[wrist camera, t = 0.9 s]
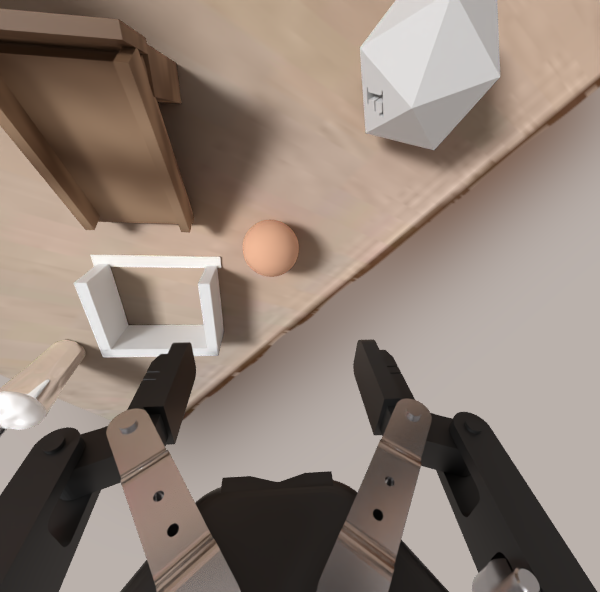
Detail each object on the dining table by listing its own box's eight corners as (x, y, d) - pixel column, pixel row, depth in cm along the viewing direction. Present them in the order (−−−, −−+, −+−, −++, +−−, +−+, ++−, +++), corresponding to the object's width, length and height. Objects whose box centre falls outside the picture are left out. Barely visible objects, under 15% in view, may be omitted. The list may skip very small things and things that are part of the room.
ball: (243, 212, 26) (238, 229, 22) (298, 214, 27) (302, 230, 22) (246, 262, 29) (241, 286, 25) (295, 263, 29) (299, 286, 25)
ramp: (48, 48, 20) (-92, 0, 12) (175, 58, 20) (118, 19, 13) (100, 221, 26) (28, 260, 18) (197, 223, 26) (166, 262, 19)
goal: (98, 263, 28) (73, 282, 24) (217, 264, 29) (209, 283, 25) (121, 332, 32) (103, 357, 28) (224, 331, 33) (218, 355, 30)
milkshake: (38, 357, 33) (-45, 439, 24) (56, 327, 31) (-27, 405, 22) (80, 374, 34) (16, 456, 26) (99, 347, 33) (37, 426, 24)
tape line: (90, 254, 27) (90, 255, 27) (220, 256, 28) (220, 257, 28) (94, 266, 28) (94, 266, 28) (221, 267, 29) (221, 268, 29)
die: (370, -17, 20) (329, 33, 15) (522, -61, 16) (529, -13, 12) (375, 111, 26) (347, 174, 21) (485, 99, 23) (480, 171, 18)
